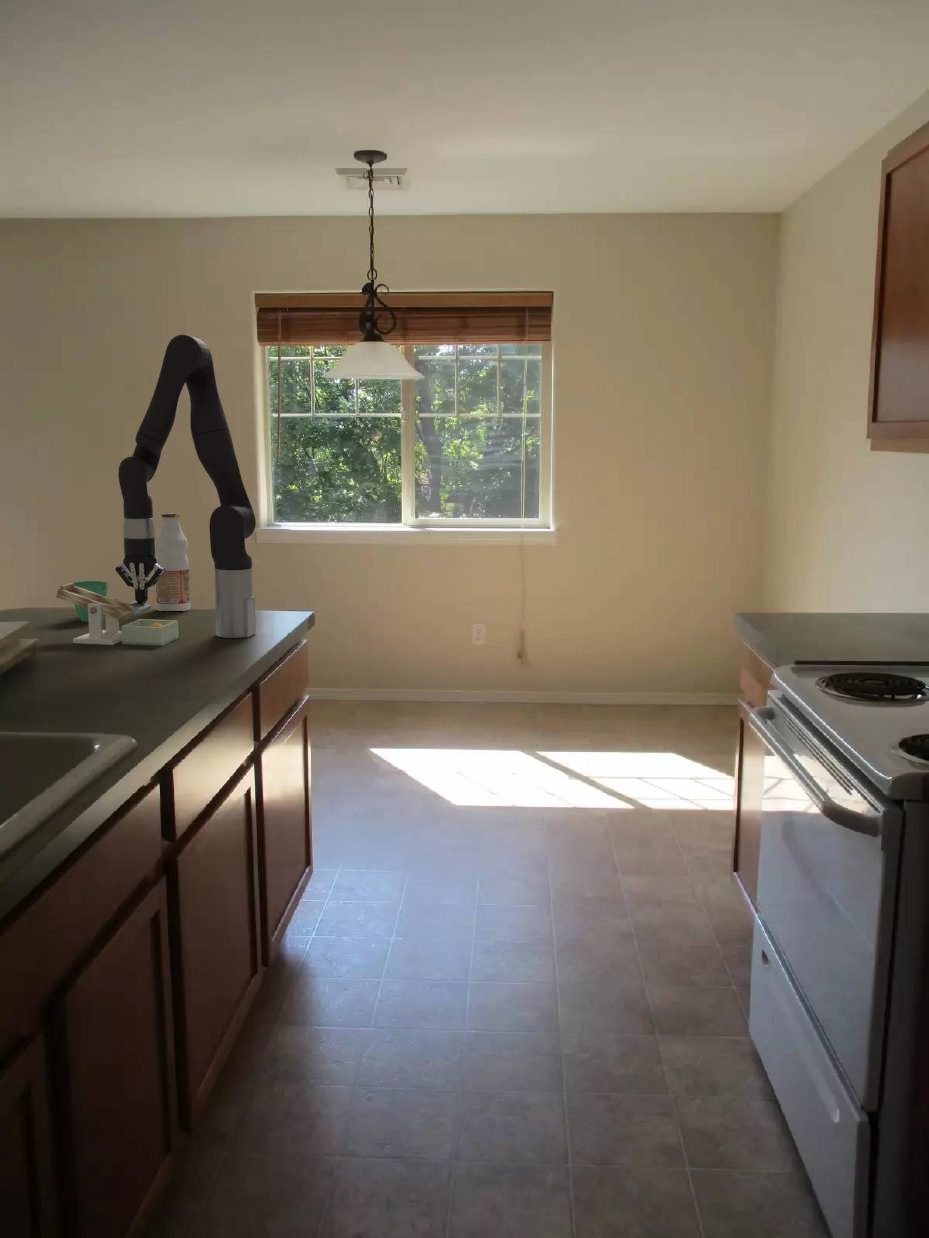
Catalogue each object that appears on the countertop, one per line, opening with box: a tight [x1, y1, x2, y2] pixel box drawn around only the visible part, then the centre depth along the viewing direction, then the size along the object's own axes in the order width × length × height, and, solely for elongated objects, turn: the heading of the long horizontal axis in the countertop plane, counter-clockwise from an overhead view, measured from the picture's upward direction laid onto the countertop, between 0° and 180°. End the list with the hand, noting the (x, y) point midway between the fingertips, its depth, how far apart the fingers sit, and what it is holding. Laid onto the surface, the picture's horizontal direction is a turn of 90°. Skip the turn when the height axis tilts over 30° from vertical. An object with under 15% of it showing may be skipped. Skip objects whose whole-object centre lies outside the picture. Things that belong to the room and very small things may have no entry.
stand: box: [72, 597, 122, 646], centre depth 248 cm, size 10×12×10 cm
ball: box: [149, 623, 162, 627], centre depth 247 cm, size 4×4×4 cm
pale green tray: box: [121, 618, 180, 647], centre depth 247 cm, size 10×10×4 cm
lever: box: [56, 582, 153, 620], centre depth 252 cm, size 17×17×3 cm
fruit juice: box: [155, 512, 191, 612], centre depth 289 cm, size 9×9×28 cm
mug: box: [72, 580, 109, 622], centre depth 275 cm, size 15×10×10 cm
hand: (141, 603), depth 258 cm, fingers closed
